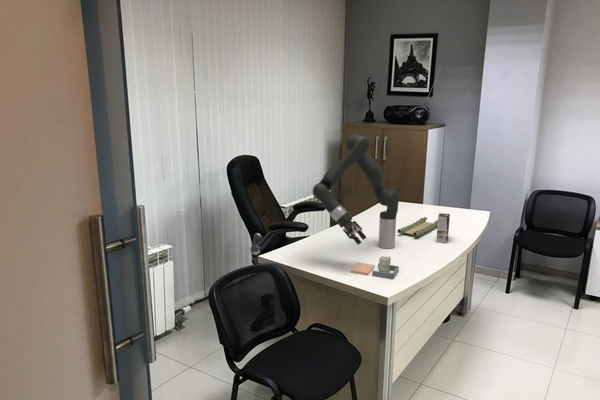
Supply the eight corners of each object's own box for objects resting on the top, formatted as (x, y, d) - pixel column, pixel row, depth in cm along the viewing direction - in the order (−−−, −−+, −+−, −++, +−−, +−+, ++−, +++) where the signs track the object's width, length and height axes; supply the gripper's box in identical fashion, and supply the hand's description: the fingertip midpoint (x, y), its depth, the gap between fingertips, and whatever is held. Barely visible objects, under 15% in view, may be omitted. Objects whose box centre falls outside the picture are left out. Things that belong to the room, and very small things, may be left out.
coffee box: (447, 243, 267) (449, 217, 264) (436, 242, 270) (437, 216, 266) (448, 239, 275) (450, 213, 272) (437, 238, 278) (439, 212, 274)
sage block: (380, 271, 224) (381, 255, 223) (389, 272, 223) (390, 257, 221) (378, 274, 220) (379, 258, 219) (387, 275, 219) (388, 260, 217)
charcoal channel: (378, 267, 228) (378, 263, 228) (398, 271, 224) (398, 266, 224) (372, 275, 218) (372, 271, 218) (393, 279, 214) (393, 274, 213)
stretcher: (417, 240, 273) (417, 233, 272) (395, 236, 282) (395, 228, 281) (442, 226, 304) (443, 219, 303) (422, 222, 313) (423, 215, 312)
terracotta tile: (357, 264, 233) (357, 262, 233) (374, 267, 229) (374, 264, 229) (350, 272, 222) (350, 270, 222) (368, 275, 219) (368, 273, 219)
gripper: (341, 214, 217) (363, 240, 215) (350, 208, 230) (371, 232, 228) (330, 224, 220) (352, 249, 218) (340, 217, 233) (361, 241, 231)
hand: (362, 241), depth 223 cm, fingers open, 8 cm apart
